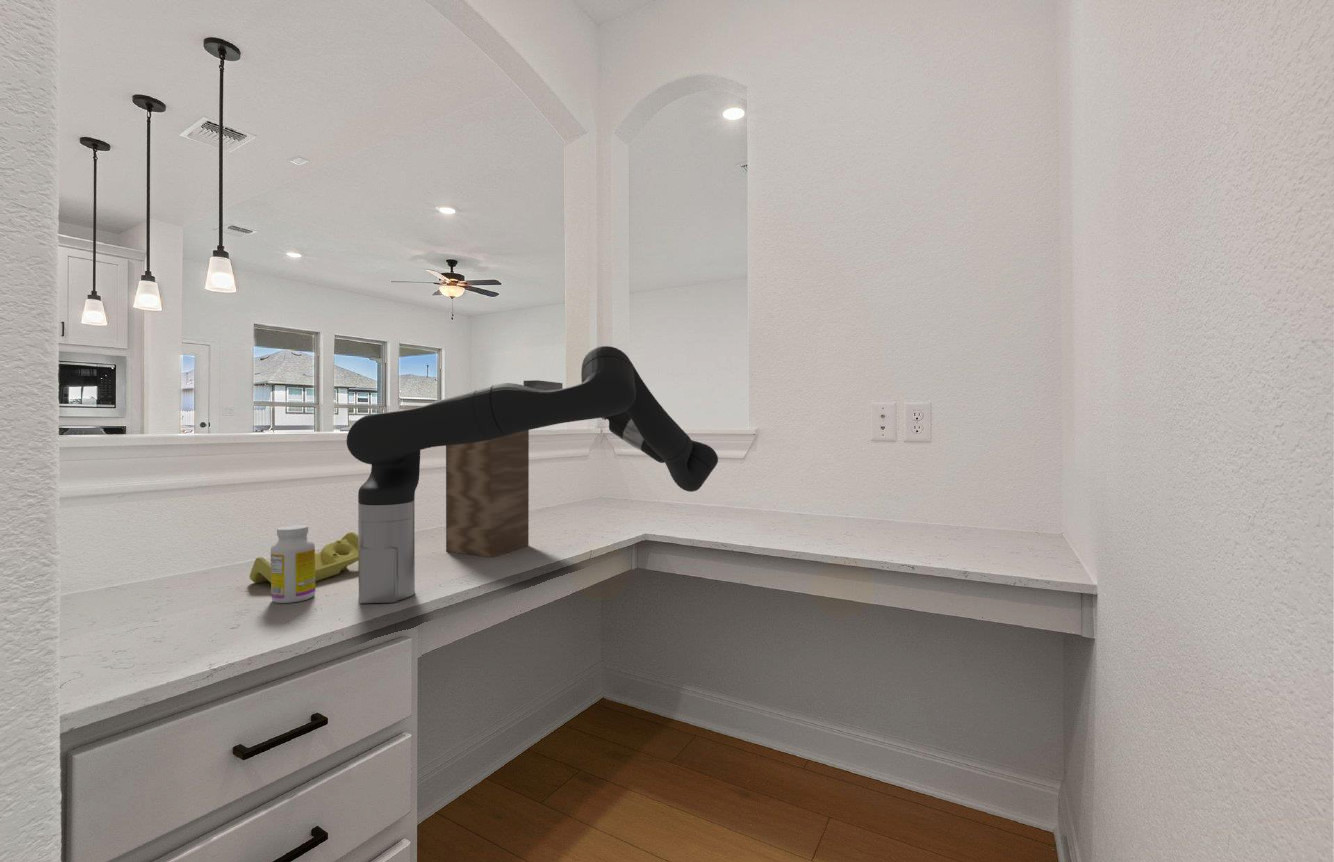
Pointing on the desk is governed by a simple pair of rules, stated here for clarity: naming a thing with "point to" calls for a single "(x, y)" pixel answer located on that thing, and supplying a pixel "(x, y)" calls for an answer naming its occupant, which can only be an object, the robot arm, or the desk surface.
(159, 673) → the desk surface
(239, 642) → the desk surface
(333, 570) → the plastic component
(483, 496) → the pedestal
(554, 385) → the hammer
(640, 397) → the robot arm
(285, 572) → the supplement bottle
